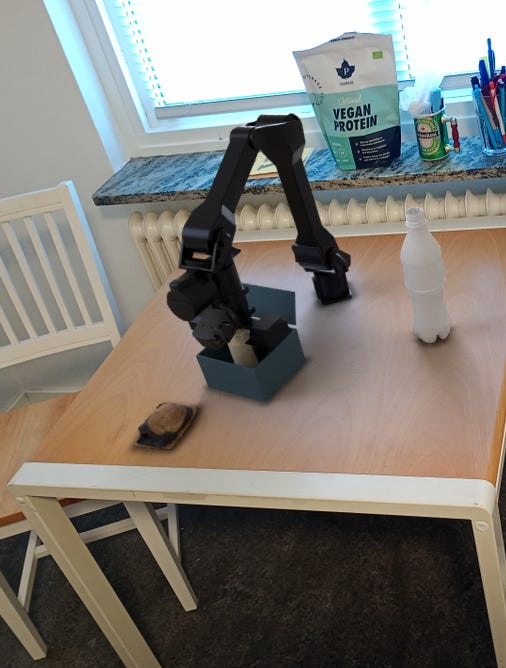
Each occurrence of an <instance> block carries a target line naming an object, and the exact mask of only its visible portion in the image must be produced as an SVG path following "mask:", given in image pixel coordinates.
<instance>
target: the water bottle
mask: <svg viewBox="0 0 506 668" xmlns="http://www.w3.org/2000/svg"><path fill="white" fill-rule="evenodd" d="M405 218H406V219H405V228H406V230H407V232H406V235H405V238H404V240H403V243H402V246H401V249H400V262H401V267H402V272H403V278H404V286H405V289H406V290H407V292H408V294H409V296H410V300H411V303H412V311H413V312H412V319H411V327H412V331H413V333H414V334H415V336H416V337H417V338H418V339H421V340H422V341H423V342H424V343H427V344H433V343H435V342H436V340H437V338H438V337H439V339H441V340H445V339H447V337H448V336H449V334H450V331H451V327H452V317H451V314H450V312H449V310H448V308H447V305H446V301H445V296H444V290H445V286H446V284H447V283H446V282H447V280H446V276H445V269H444V262H443V251H442V247H441V245H440V243H439V242H438V241H437V239H436V238H435V236H434V235H432V233H431V232H430V230H429V229H428V227H427V224H428V220H427V219H426V216H425V211H424V208H423V207H420V206H413V207H410V208H408V209H406V210H405Z"/></svg>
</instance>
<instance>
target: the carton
mask: <svg viewBox="0 0 506 668" xmlns="http://www.w3.org/2000/svg"><path fill="white" fill-rule="evenodd" d="M195 357H196V358H195V359H196V361H197V363H198V365H199V367H200V369H201V372H202V375H203V378H204V380H205V383H206V385H207V387H208V388H210V389H214V390H216V391H217V390H218V391H221V392H225V393H229V394H232V395H236V396H239V397H243V398H246V399H250V400H254V401H258V402H261V403H264V404H265V403H267V402H268V401H269V400H270V399H271V397H272V396H274V395H275V393H276V392H277V391H278V390H279V389H280V388H281V387H282V386H283V385H284V384H286V382H287V381H288V380H289V379H290V378H291V377H292V376H293V375H294V374H295V373H296V372H297V370H299V368H301V366H302V365H303V364H304V363H305V362H306V361H307V360H306V356H305V352H304V349H303V345H302V342H301V339H300V336H299V332H298V329H297V328H295V327H291V326H289V329H288V330H287V331H286V332H285V333H284V334H283V335H282V336H281V337H280V338H279V339H278V340H277V341H276V342H275V343H274V344H273V345H272V346H269V347H268V352H267V356H266V357H265V358H264V359H263V360H262V361H261V362H260V363H259V364H258V365H257V366H256V367H255V368H254V369H253V368H249V367H244V366H240V365H236V364H235V362H234V360H233V357H232V354H231V353H230V352H229V351H228V350H227V349H226V347H225V346H223V347H222V348H221V349H219V350H215V349H213V348H209V347H204V348H202V349H201V350H200V351H199V352H198V353H197V354H196V355H195Z"/></svg>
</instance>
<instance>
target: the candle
mask: <svg viewBox="0 0 506 668" xmlns="http://www.w3.org/2000/svg"><path fill="white" fill-rule="evenodd" d="M249 333H250V330H246V329H244V330H243V331H241V330H237V331H236V333H235V335H234V337H233V338H232V340H231V342H230V343H228V346H229V349H230V351H231V354H232V357H233V360H234V362H235V364H236V365H240V366H244V367H249V368H253V369H254V368H255V367H256V366H257V365H258V364H259V362H258V360H257V358H256V356H255V353H254V351H253V348H252V346H251V345H247V344H245V342H246V341H247V340H248V339H249V338H250V336H249Z"/></svg>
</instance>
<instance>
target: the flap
mask: <svg viewBox="0 0 506 668" xmlns="http://www.w3.org/2000/svg"><path fill="white" fill-rule="evenodd" d="M241 284H242V285H243V286H248V288H249V292H248V293H247V294H246V295H245V296H246V299H247V302H248V305H249V306H254V307H255V310H256V312H255V313H253V314H252V315H251V316H252V318H256V319H260V318H262V317H263V316H264V315H265V314H266V313H268V314H273V315H278V316H282V317H285V318H286V320H287V323H288V325H291V326H297V308H296V307H297V306H296V303H297V302H296V291H294V290H289V289H283V288H277V287H271V286H265V285H260V284H253V283H247V282H242V281H241Z"/></svg>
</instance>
